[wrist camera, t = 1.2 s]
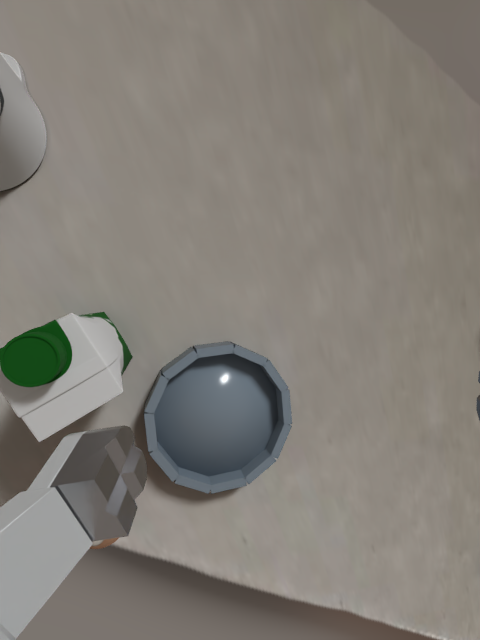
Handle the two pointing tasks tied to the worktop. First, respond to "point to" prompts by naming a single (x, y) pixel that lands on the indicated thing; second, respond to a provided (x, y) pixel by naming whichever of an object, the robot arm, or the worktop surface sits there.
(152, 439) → the slate bowl
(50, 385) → the milk carton
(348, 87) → the worktop surface
